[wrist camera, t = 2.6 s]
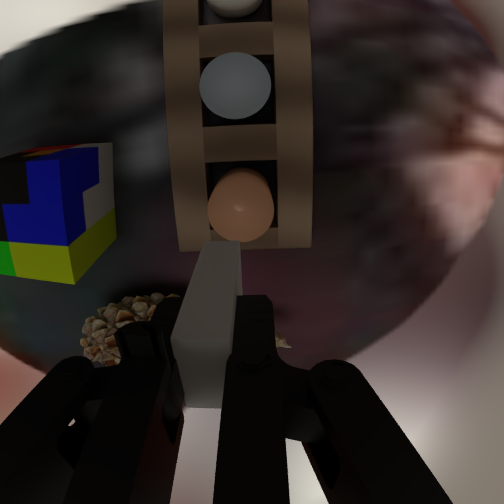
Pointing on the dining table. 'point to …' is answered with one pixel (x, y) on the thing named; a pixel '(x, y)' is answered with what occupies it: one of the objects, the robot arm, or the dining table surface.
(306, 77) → the button board
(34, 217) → the puzzle toy
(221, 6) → the offwhite cap
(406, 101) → the dining table surface
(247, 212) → the terracotta cap
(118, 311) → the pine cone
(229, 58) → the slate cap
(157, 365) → the robot arm
